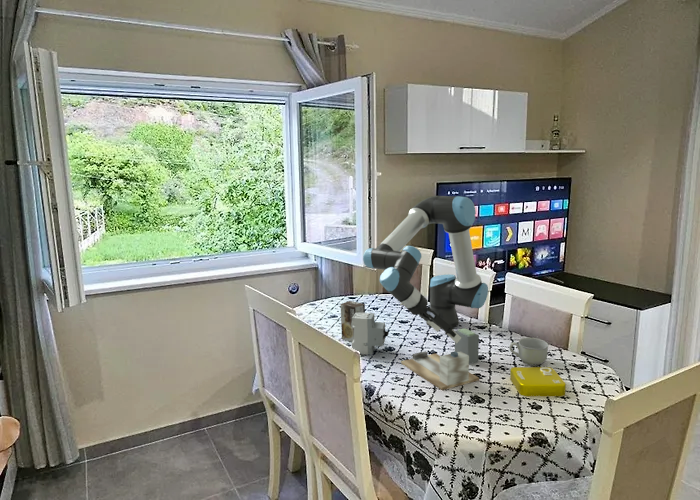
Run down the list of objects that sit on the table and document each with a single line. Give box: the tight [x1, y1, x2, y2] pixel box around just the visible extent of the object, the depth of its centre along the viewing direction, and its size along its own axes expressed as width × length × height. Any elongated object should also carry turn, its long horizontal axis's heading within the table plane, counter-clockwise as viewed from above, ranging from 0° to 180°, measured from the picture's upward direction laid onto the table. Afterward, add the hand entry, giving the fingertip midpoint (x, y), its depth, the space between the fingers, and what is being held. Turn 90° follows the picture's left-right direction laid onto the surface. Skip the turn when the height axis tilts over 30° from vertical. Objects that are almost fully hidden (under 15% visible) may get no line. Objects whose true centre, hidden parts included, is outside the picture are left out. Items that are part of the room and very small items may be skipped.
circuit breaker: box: [351, 312, 390, 355], centre depth 208 cm, size 8×14×15 cm, turn 78°
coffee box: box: [340, 300, 366, 343], centre depth 222 cm, size 9×6×16 cm
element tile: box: [509, 366, 567, 397], centre depth 174 cm, size 15×15×5 cm
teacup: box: [508, 337, 549, 366], centre depth 194 cm, size 14×11×8 cm
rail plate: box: [400, 350, 480, 391], centre depth 186 cm, size 16×26×11 cm, turn 26°
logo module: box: [454, 328, 480, 365], centre depth 197 cm, size 5×8×12 cm, turn 26°
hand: (448, 334), depth 192 cm, fingers open, 13 cm apart
